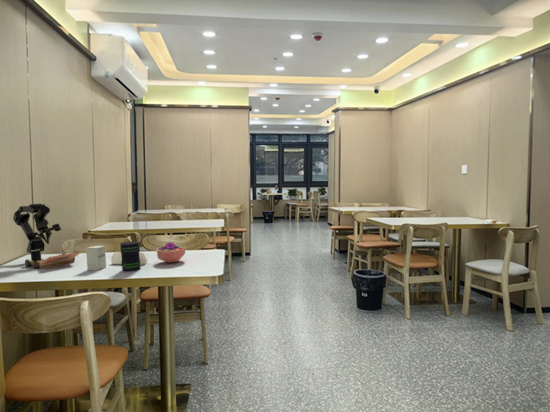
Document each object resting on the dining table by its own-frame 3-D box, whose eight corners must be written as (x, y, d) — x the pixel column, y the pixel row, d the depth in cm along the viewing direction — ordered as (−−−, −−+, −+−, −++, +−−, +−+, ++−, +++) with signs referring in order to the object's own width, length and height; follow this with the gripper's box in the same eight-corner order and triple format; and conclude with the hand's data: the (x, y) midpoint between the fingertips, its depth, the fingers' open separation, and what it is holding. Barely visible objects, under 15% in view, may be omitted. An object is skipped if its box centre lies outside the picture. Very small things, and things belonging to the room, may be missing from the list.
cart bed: (24, 266, 252) (23, 259, 252) (62, 259, 270) (62, 252, 270) (37, 269, 241) (36, 261, 241) (76, 262, 259) (75, 255, 259)
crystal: (151, 256, 247) (119, 255, 256) (144, 252, 241) (111, 251, 250) (148, 268, 244) (115, 266, 253) (140, 264, 238) (107, 263, 247)
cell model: (155, 266, 235) (154, 246, 234) (157, 260, 254) (156, 241, 253) (185, 264, 238) (184, 244, 237) (186, 257, 258) (185, 239, 257)
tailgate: (41, 262, 243) (48, 257, 236) (71, 257, 256) (78, 252, 250) (42, 266, 243) (49, 260, 236) (71, 260, 256) (79, 255, 250)
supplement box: (98, 270, 232) (97, 247, 231) (87, 270, 233) (85, 247, 232) (106, 267, 239) (105, 245, 238) (95, 267, 240) (93, 245, 239)
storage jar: (140, 267, 236) (138, 240, 235) (141, 270, 226) (139, 243, 225) (121, 269, 232) (119, 242, 231) (121, 272, 223) (119, 245, 222)
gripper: (20, 222, 249) (27, 245, 244) (53, 211, 256) (61, 234, 252) (25, 228, 258) (32, 250, 254) (57, 218, 266) (65, 240, 262)
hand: (48, 243), depth 255 cm, fingers closed
